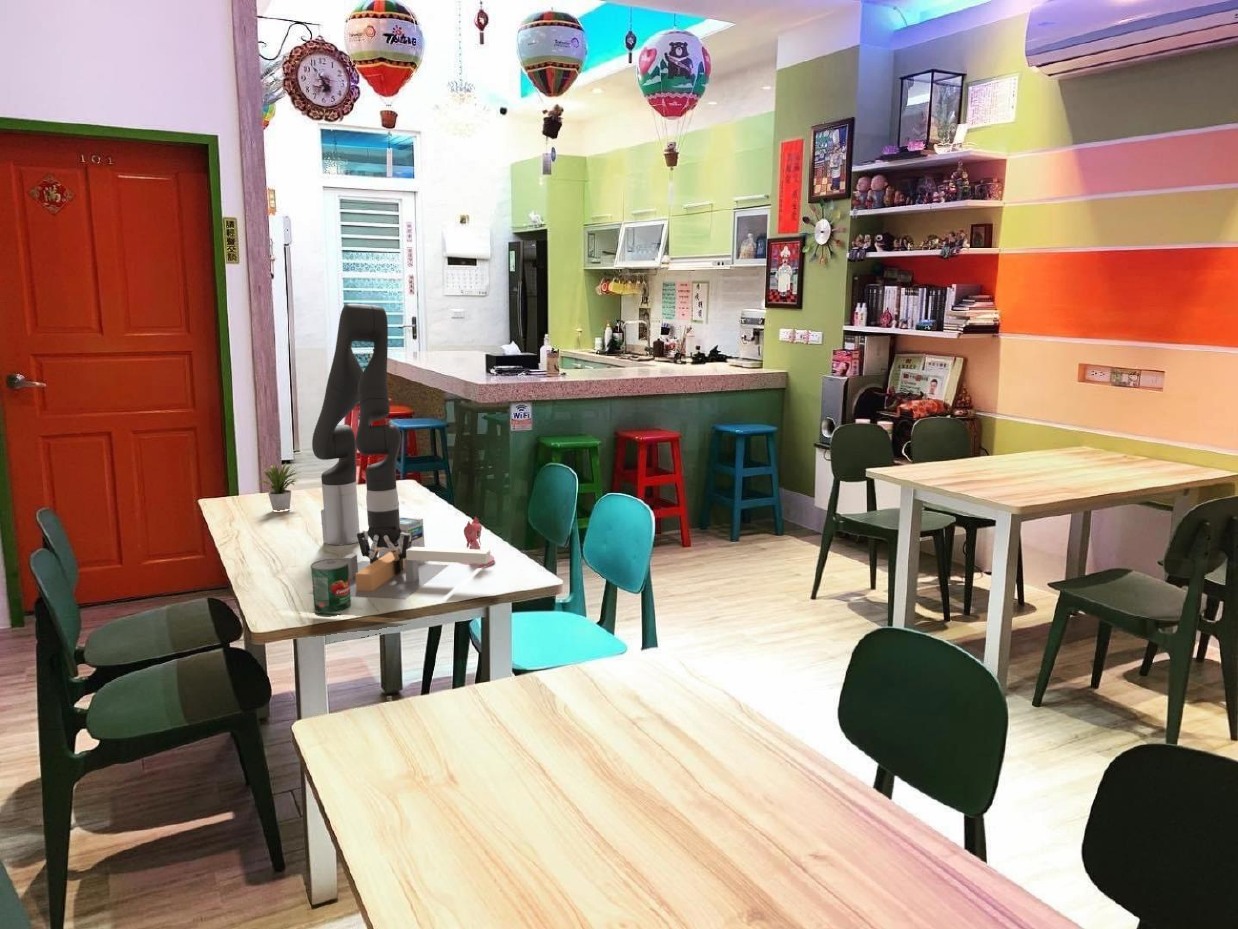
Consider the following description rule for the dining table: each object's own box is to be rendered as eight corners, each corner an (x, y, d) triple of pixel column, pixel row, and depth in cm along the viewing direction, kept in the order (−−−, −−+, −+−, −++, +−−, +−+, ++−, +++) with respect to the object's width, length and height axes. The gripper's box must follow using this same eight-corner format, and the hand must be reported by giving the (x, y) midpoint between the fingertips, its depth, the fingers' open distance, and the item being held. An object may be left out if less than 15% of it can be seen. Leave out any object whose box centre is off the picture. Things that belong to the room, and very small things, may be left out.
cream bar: (406, 560, 214) (406, 550, 213) (411, 556, 217) (411, 546, 216) (486, 563, 210) (485, 553, 209) (490, 560, 213) (490, 550, 212)
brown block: (356, 590, 210) (355, 573, 209) (390, 567, 227) (389, 552, 226) (372, 591, 209) (371, 574, 208) (405, 568, 226) (404, 552, 225)
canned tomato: (349, 615, 196) (345, 567, 194) (311, 618, 195) (307, 569, 193) (353, 603, 204) (350, 557, 202) (317, 605, 202) (313, 559, 200)
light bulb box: (426, 557, 239) (424, 518, 237) (410, 564, 233) (408, 524, 231) (394, 552, 243) (391, 514, 241) (377, 559, 237) (375, 520, 235)
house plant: (294, 516, 284) (290, 466, 281) (251, 517, 285) (246, 466, 282) (310, 506, 298) (306, 458, 295) (269, 506, 299) (264, 458, 296)
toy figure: (487, 569, 227) (485, 523, 225) (451, 567, 229) (448, 522, 227) (499, 558, 237) (497, 514, 234) (464, 556, 239) (462, 513, 236)
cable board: (308, 597, 208) (306, 571, 207) (361, 564, 233) (360, 541, 232) (405, 603, 203) (403, 576, 202) (448, 568, 228) (447, 545, 227)
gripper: (348, 509, 215) (353, 576, 218) (403, 511, 212) (408, 579, 216) (362, 502, 222) (367, 567, 226) (416, 504, 220) (420, 570, 223)
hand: (387, 573), depth 221 cm, fingers open, 5 cm apart
